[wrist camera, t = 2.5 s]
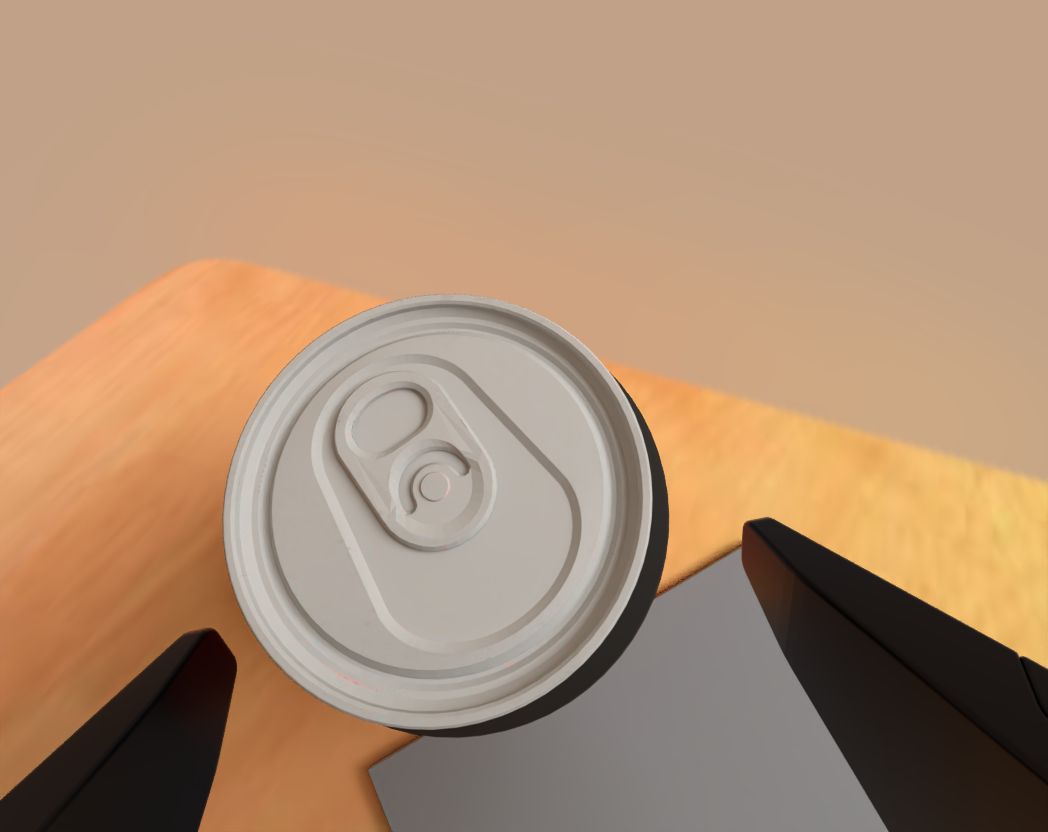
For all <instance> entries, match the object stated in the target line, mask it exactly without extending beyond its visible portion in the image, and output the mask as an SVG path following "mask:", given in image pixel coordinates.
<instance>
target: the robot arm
mask: <svg viewBox="0 0 1048 832" xmlns="http://www.w3.org/2000/svg"><path fill="white" fill-rule="evenodd" d="M741 560H742V565H743V568H744V571H745V573H746V575H747V577H748V579H749V582H750V584H751V586H752V588H753V590H754V592H755V595H756V597H757V599H758V601H759V603H760V605H761V608H762V610H763V612H764V614H765V616H766V618H767V621H768V623H769V625H770V627H771V629H772V631H773V634H774V636H775V638H776V640H777V642H778V644H779V646H780V648H781V650H782V652H783V654H784V656H785V658H786V660H787V662H788V663H789V665H790V667H791V669H792V671H793V672H794V674H795V676H796V677H797V679H798V681H799V682H800V684H801V686H802V687H803V689H804V691H805V692H806V694H807V696H808V697H809V699H810V701H811V702H812V704H813V706H814V707H815V709H816V711H817V713H818V714H819V716H820V718H821V719H822V721H823V723H824V724H825V726H826V728H827V729H828V731H829V733H830V734H831V736H832V738H833V739H834V741H835V743H836V744H837V746H838V748H839V749H840V751H841V753H842V754H843V756H844V758H845V760H846V761H847V763H848V765H849V766H850V768H851V770H852V771H853V773H854V775H855V776H856V778H857V780H858V781H859V783H860V785H861V786H862V788H863V790H864V791H865V793H866V795H867V796H868V798H869V800H870V802H871V803H872V805H873V807H874V808H875V810H876V812H877V813H878V815H879V817H880V818H881V820H882V822H883V823H884V825H885V827H886V828H887V830H888V832H1048V669H1047V668H1045V667H1043V666H1042V665H1040V664H1038V663H1036V662H1034V661H1032V660H1031V659H1029V658H1027V657H1024V656H1021V657H1019V655H1018V653H1017V652H1015V651H1014V650H1012V649H1010V648H1008V647H1006V646H1005V645H1003V644H1001V643H999V642H997V641H995V640H994V639H992V638H990V637H988V636H986V635H985V634H983V633H981V632H979V631H977V630H975V629H974V628H972V627H970V626H968V625H966V624H964V623H963V622H961V621H959V620H957V619H955V618H953V617H952V616H950V615H948V614H946V613H944V612H943V611H941V610H939V609H937V608H935V607H933V606H932V605H930V604H928V603H926V602H924V601H922V600H921V599H919V598H917V597H915V596H913V595H912V594H910V593H908V592H906V591H904V590H902V589H901V588H899V587H897V586H895V585H893V584H891V583H890V582H888V581H886V580H884V579H882V578H880V577H879V576H877V575H875V574H873V573H871V572H870V571H868V570H866V569H864V568H862V567H860V566H859V565H857V564H855V563H853V562H851V561H849V560H848V559H846V558H844V557H842V556H840V555H838V554H837V553H835V552H833V551H831V550H829V549H828V548H826V547H824V546H822V545H820V544H818V543H817V542H815V541H813V540H811V539H809V538H807V537H806V536H804V535H802V534H800V533H798V532H796V531H795V530H793V529H791V528H789V527H787V526H786V525H784V524H782V523H780V522H778V521H776V520H775V519H772V518H769V517H764V518H759V519H754V520H749V521H747V522H745V523H744V525H743V533H742V550H741ZM236 673H237V663H236V659H235V656H234V655H233V653H232V652H231V650H230V649H229V648H228V646H227V645H226V643H225V642H224V641H223V639H222V638H221V636H220V635H219V633H218V632H217V631H216V630H214V629H212V628H205V629H200V630H195V631H190V632H187V633H185V634H183V635H182V636H181V637H180V638H178V639H177V640H176V641H175V642H174V643H173V644H172V645H171V646H170V647H169V648H167V649H166V650H165V651H164V652H163V653H162V654H161V655H160V656H159V657H158V658H156V659H155V660H154V661H153V662H152V663H151V664H150V665H149V666H148V667H147V668H145V669H144V670H143V671H142V672H141V673H140V674H139V675H138V676H137V677H136V678H134V679H133V680H132V681H131V682H130V683H129V684H128V685H127V686H126V687H125V688H123V689H122V690H121V691H120V692H119V693H118V694H117V695H116V696H115V697H114V698H112V699H111V700H110V701H109V702H108V703H107V704H106V705H105V706H104V707H102V708H101V709H100V710H99V711H98V712H97V713H96V714H95V715H94V716H93V717H91V718H90V719H89V720H88V721H87V722H86V723H85V724H84V725H83V726H82V727H80V728H79V729H78V730H77V731H76V732H75V733H74V734H73V735H72V736H71V737H69V738H68V739H67V740H66V741H65V742H64V743H63V744H62V745H61V746H60V747H58V748H57V749H56V750H55V751H54V752H53V753H52V754H51V755H50V756H49V757H47V758H46V759H45V760H44V761H43V762H42V763H41V764H40V765H39V766H38V767H36V768H35V769H34V770H33V771H32V772H31V773H30V774H29V775H28V776H26V777H25V778H24V779H23V780H22V781H21V782H20V783H19V784H18V785H17V786H15V787H14V788H13V789H12V790H11V791H10V792H9V793H8V794H7V795H6V796H4V797H3V798H2V799H1V800H0V832H198V829H199V826H200V823H201V820H202V816H203V813H204V810H205V806H206V803H207V800H208V797H209V793H210V790H211V787H212V783H213V779H214V776H215V772H216V769H217V764H218V760H219V756H220V752H221V747H222V742H223V737H224V732H225V727H226V722H227V717H228V712H229V708H230V703H231V698H232V693H233V688H234V683H235V678H236Z"/></svg>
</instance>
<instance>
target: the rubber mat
mask: <svg viewBox="0 0 1048 832" xmlns="http://www.w3.org/2000/svg"><path fill="white" fill-rule="evenodd" d="M741 550H742V546H740V547H738V548H737V549H735V550H733V551H732V552H730V553H728V554H727V555H725V556H723V557H721V558H720V559H718V560H716V561H715V562H713V563H711V564H710V565H708V566H706V567H705V568H703V569H701V570H700V571H698V572H696V573H695V574H693V575H691V576H690V577H688V578H686V579H684V580H683V581H681V582H679V583H678V584H676V585H674V586H673V587H671V588H669V589H668V590H666V591H664V592H663V593H661V594H659V595H658V596H656V597H655V598H654V600H653V603H652V605H651V607H650V609H649V611H648V614H647V616H646V618H645V620H644V622H643V623H642V625H641V627H640V629H639V630H638V632H637V634H636V635H635V637H634V639H633V640H632V642H631V643H630V644H629V646H628V647H627V649H626V650H625V651H624V653H623V654H622V655H621V657H620V658H619V659H618V660H617V661H616V662H615V664H614V665H613V666H612V667H611V668H610V669H609V670H608V671H607V672H606V674H605V675H604V676H602V677H601V678H600V679H599V680H598V681H597V682H596V683H595V684H594V685H592V686H591V687H590V688H589V689H588V690H587V691H585V692H584V693H583V694H581V695H580V696H578V697H577V698H576V699H574V700H573V701H572V702H570V703H569V704H567V705H565V706H564V707H562V708H560V709H558V710H557V711H555V712H553V713H551V714H550V715H547V716H545V717H543V718H541V719H538V720H536V721H534V722H532V723H529V724H526V725H523V726H520V727H517V728H514V729H511V730H508V731H503V732H498V733H493V734H488V735H483V736H474V737H462V738H445V737H430V736H423V735H422V736H420V737H419V738H417V739H415V740H414V741H412V742H410V743H409V744H407V745H405V746H403V747H402V748H400V749H398V750H397V751H395V752H393V753H392V754H390V755H388V756H387V757H385V758H383V759H382V760H380V761H378V762H377V763H375V764H373V765H372V766H371V767H370V768H369V769H368V772H369V774H370V777H371V780H372V782H373V785H374V787H375V790H376V792H377V795H378V797H379V800H380V803H381V805H382V808H383V810H384V813H385V815H386V818H387V821H388V823H389V826H390V828H391V831H392V832H888V830H887V828H886V827H885V825H884V823H883V822H882V820H881V818H880V817H879V815H878V813H877V812H876V810H875V808H874V807H873V805H872V803H871V802H870V800H869V798H868V796H867V795H866V793H865V791H864V790H863V788H862V786H861V785H860V783H859V781H858V780H857V778H856V776H855V775H854V773H853V771H852V770H851V768H850V766H849V765H848V763H847V761H846V760H845V758H844V756H843V754H842V753H841V751H840V749H839V748H838V746H837V744H836V743H835V741H834V739H833V738H832V736H831V734H830V733H829V731H828V729H827V728H826V726H825V724H824V723H823V721H822V719H821V718H820V716H819V714H818V713H817V711H816V709H815V707H814V706H813V704H812V702H811V701H810V699H809V697H808V696H807V694H806V692H805V691H804V689H803V687H802V686H801V684H800V682H799V681H798V679H797V677H796V676H795V674H794V672H793V671H792V669H791V667H790V665H789V663H788V662H787V660H786V658H785V656H784V654H783V652H782V650H781V648H780V646H779V644H778V642H777V640H776V638H775V636H774V634H773V631H772V629H771V627H770V625H769V623H768V621H767V618H766V616H765V614H764V612H763V610H762V608H761V605H760V603H759V601H758V599H757V597H756V595H755V592H754V590H753V588H752V586H751V584H750V582H749V579H748V577H747V575H746V573H745V571H744V568H743V565H742V560H741Z"/></svg>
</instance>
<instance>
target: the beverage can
mask: <svg viewBox="0 0 1048 832" xmlns="http://www.w3.org/2000/svg"><path fill="white" fill-rule="evenodd" d="M668 537H669V505H668V493H667V487H666V481H665V475H664V471H663V467H662V464H661V460H660V456H659V453H658V450H657V447H656V445H655V442H654V439H653V437H652V434H651V432H650V430H649V428H648V426H647V424H646V422H645V420H644V418H643V416H642V414H641V412H640V411H639V409H638V408H637V406H636V404H635V403H634V401H633V400H632V398H631V397H630V395H629V394H628V393H627V392H626V390H625V389H624V388H623V386H622V385H621V384H620V383H619V382H618V380H617V379H616V378H615V377H614V376H613V375H612V374H611V373H610V372H609V371H608V370H607V368H606V367H605V366H604V364H603V363H602V362H601V361H600V360H599V359H598V358H597V357H596V356H595V355H594V354H593V353H592V352H591V351H590V350H589V349H588V348H587V347H586V346H585V345H584V344H582V343H581V342H580V341H579V340H578V339H577V338H576V337H574V336H573V335H571V334H570V333H569V332H567V331H566V330H565V329H563V328H562V327H560V326H559V325H557V324H555V323H553V322H552V321H550V320H548V319H547V318H545V317H543V316H541V315H539V314H537V313H534V312H532V311H530V310H528V309H525V308H523V307H519V306H517V305H514V304H511V303H508V302H504V301H500V300H496V299H492V298H486V297H481V296H474V295H462V294H434V295H424V296H417V297H411V298H406V299H401V300H397V301H393V302H390V303H386V304H383V305H379V306H377V307H374V308H372V309H369V310H366V311H364V312H361V313H359V314H357V315H355V316H353V317H351V318H349V319H347V320H345V321H343V322H342V323H340V324H338V325H336V326H335V327H333V328H331V329H330V330H328V331H327V332H325V333H324V334H323V335H321V336H320V337H318V338H317V339H315V340H314V341H313V342H311V343H310V344H309V345H308V346H307V347H306V348H304V349H303V350H302V351H301V352H300V353H298V354H297V355H296V356H295V357H294V358H293V359H292V360H291V361H290V362H289V363H288V364H287V365H286V366H285V367H284V368H283V370H282V371H281V372H280V373H279V374H278V376H277V377H276V378H275V379H274V380H273V382H272V383H271V384H270V385H269V387H268V388H267V390H266V391H265V393H264V394H263V395H262V397H261V398H260V400H259V401H258V403H257V405H256V406H255V408H254V410H253V412H252V413H251V415H250V417H249V419H248V421H247V423H246V425H245V427H244V429H243V431H242V433H241V436H240V438H239V441H238V444H237V446H236V449H235V452H234V455H233V458H232V462H231V465H230V469H229V473H228V477H227V483H226V489H225V495H224V506H223V543H224V551H225V560H226V564H227V569H228V573H229V578H230V582H231V585H232V588H233V591H234V594H235V597H236V600H237V602H238V605H239V607H240V609H241V611H242V614H243V616H244V618H245V620H246V622H247V624H248V625H249V627H250V629H251V631H252V632H253V634H254V636H255V637H256V639H257V641H258V642H259V643H260V645H261V646H262V647H263V649H264V650H265V651H266V653H267V654H268V655H269V657H270V658H271V659H272V660H273V661H274V662H275V663H276V664H277V666H278V667H279V668H280V669H281V670H282V671H283V672H284V673H285V674H286V675H287V676H288V677H289V678H291V679H292V680H293V681H294V682H295V683H297V684H298V685H299V686H300V687H301V688H302V689H304V690H305V691H307V692H308V693H310V694H311V695H313V696H314V697H316V698H317V699H319V700H320V701H322V702H324V703H325V704H327V705H329V706H331V707H333V708H335V709H337V710H339V711H341V712H343V713H346V714H348V715H351V716H354V717H356V718H359V719H361V720H365V721H369V722H372V723H376V724H380V725H383V726H386V727H389V728H391V729H395V730H399V731H403V732H407V733H411V734H416V735H423V736H430V737H445V738H462V737H474V736H483V735H488V734H493V733H498V732H503V731H508V730H511V729H514V728H517V727H520V726H523V725H526V724H529V723H532V722H534V721H536V720H538V719H541V718H543V717H545V716H547V715H550V714H551V713H553V712H555V711H557V710H558V709H560V708H562V707H564V706H565V705H567V704H569V703H570V702H572V701H573V700H574V699H576V698H577V697H578V696H580V695H581V694H583V693H584V692H585V691H587V690H588V689H589V688H590V687H591V686H592V685H594V684H595V683H596V682H597V681H598V680H599V679H600V678H601V677H602V676H604V675H605V674H606V672H607V671H608V670H609V669H610V668H611V667H612V666H613V665H614V664H615V662H616V661H617V660H618V659H619V658H620V657H621V655H622V654H623V653H624V651H625V650H626V649H627V647H628V646H629V644H630V643H631V642H632V640H633V639H634V637H635V635H636V634H637V632H638V630H639V629H640V627H641V625H642V623H643V622H644V620H645V618H646V616H647V614H648V611H649V609H650V607H651V605H652V603H653V600H654V598H655V595H656V592H657V589H658V586H659V583H660V580H661V576H662V572H663V568H664V563H665V559H666V552H667V545H668Z"/></svg>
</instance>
